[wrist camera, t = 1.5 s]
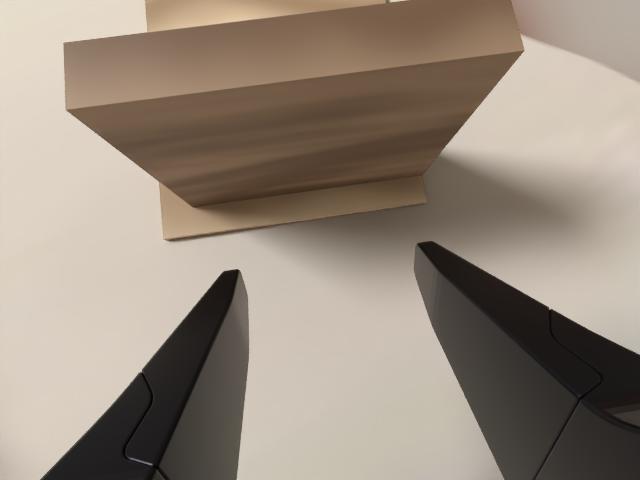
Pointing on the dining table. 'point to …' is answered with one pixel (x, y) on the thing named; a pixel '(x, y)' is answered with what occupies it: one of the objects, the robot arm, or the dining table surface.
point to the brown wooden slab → (293, 95)
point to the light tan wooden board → (186, 221)
